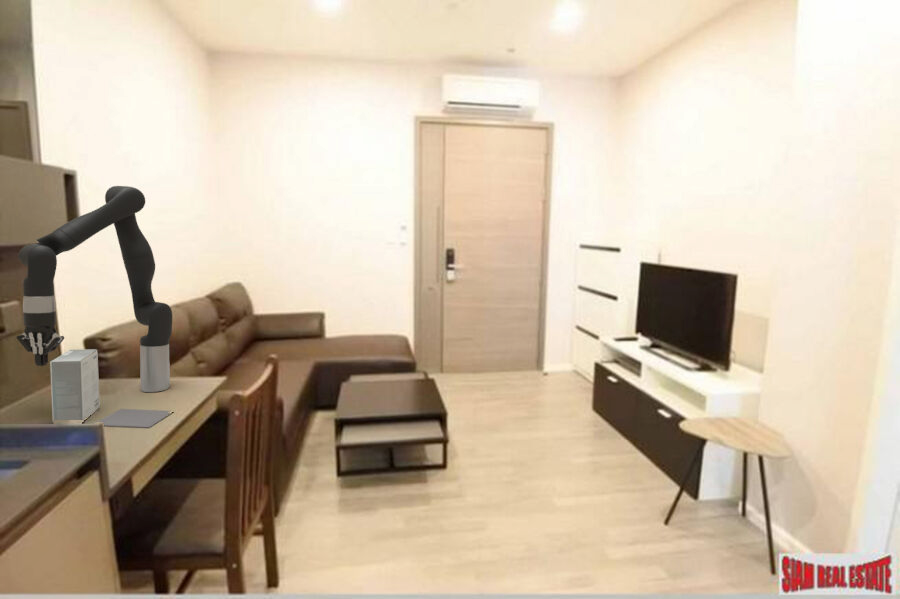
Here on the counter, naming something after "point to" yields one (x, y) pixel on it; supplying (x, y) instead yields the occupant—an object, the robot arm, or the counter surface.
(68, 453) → the counter surface
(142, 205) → the robot arm
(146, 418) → the rubber mat
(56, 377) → the hard drive box
